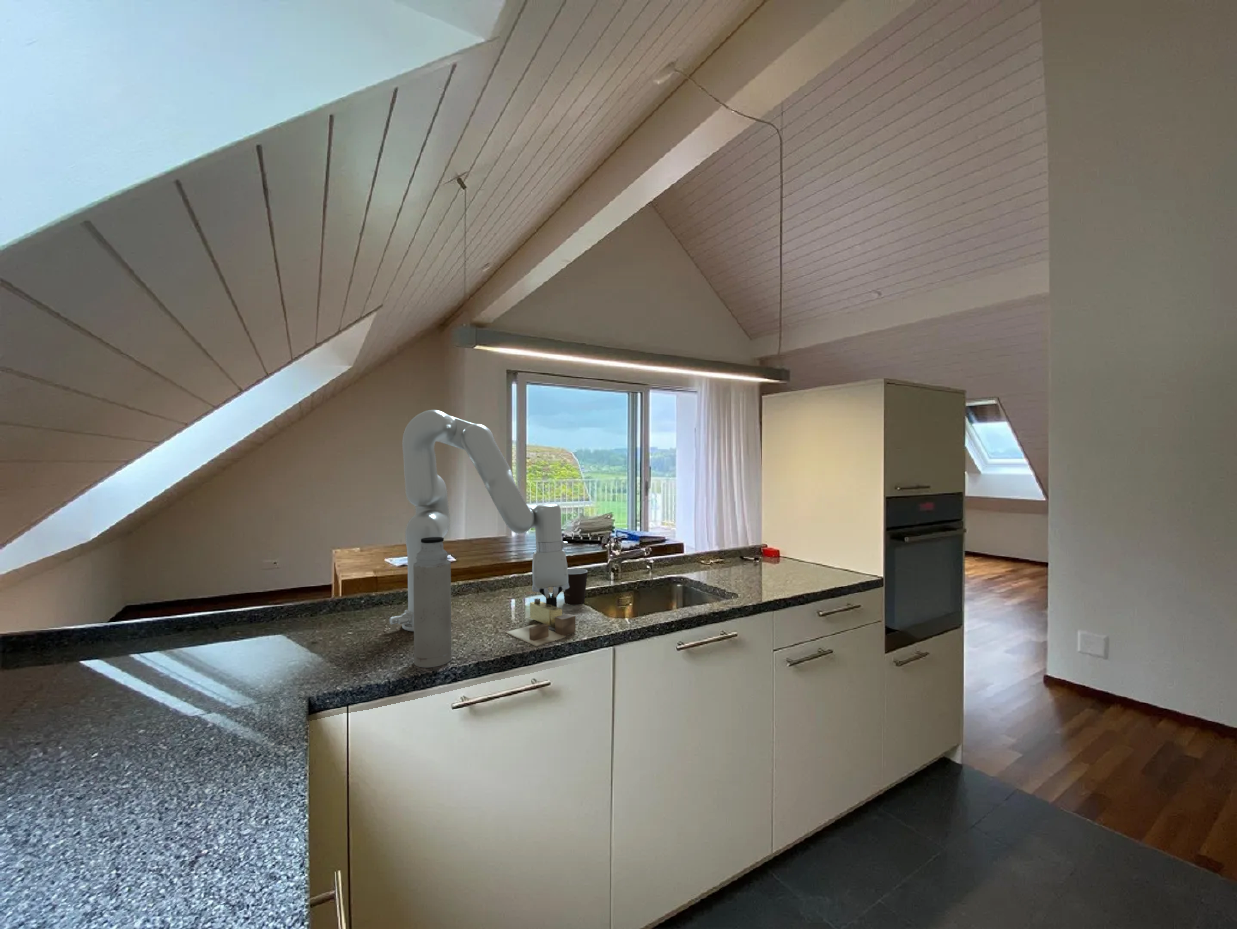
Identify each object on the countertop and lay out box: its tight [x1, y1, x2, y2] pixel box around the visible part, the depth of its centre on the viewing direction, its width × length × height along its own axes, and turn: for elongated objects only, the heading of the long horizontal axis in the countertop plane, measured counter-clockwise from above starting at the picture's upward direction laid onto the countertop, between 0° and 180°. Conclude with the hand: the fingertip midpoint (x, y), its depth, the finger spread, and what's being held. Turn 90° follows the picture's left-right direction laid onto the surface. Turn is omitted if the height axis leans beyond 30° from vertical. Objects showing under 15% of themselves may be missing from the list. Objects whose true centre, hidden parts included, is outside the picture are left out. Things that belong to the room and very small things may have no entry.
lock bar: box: [529, 598, 563, 628], centre depth 142 cm, size 13×3×5 cm, turn 41°
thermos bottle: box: [413, 537, 452, 669], centre depth 115 cm, size 8×8×28 cm
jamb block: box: [554, 613, 576, 637], centre depth 134 cm, size 4×3×4 cm
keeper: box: [529, 623, 549, 641], centre depth 129 cm, size 5×2×3 cm, turn 134°
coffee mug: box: [562, 568, 588, 606], centre depth 166 cm, size 12×9×10 cm
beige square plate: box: [505, 624, 567, 647], centre depth 134 cm, size 14×14×1 cm
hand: (551, 610), depth 147 cm, fingers closed
